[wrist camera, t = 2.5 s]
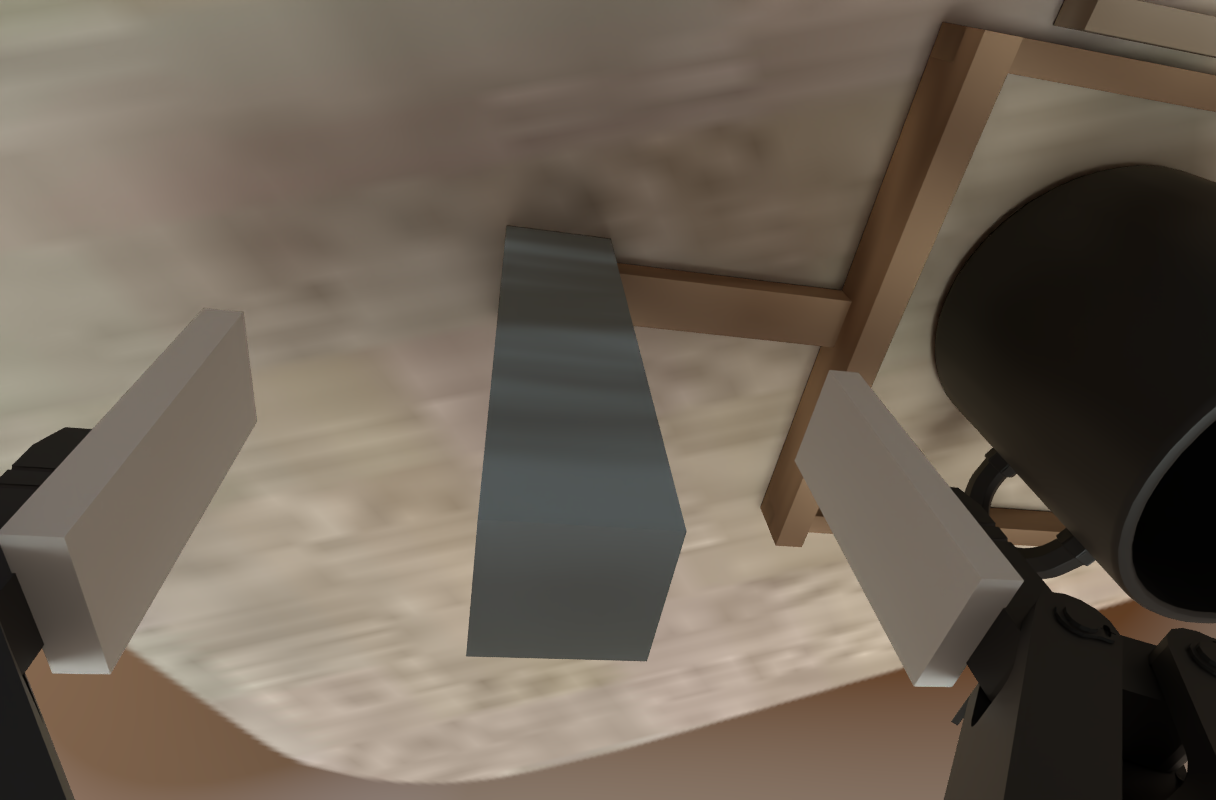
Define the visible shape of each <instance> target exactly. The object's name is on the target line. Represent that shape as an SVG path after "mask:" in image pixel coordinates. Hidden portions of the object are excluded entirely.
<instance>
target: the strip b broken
mask: <svg viewBox="0 0 1216 800" xmlns="http://www.w3.org/2000/svg"><path fill="white" fill-rule="evenodd" d="M1054 25H1055V26H1060V27H1065V28H1070V29H1075V30H1080V31H1085V32H1090V33H1095V34H1100V35H1105V36H1110V37H1115V38H1119V39H1124V40H1129V41H1134V42H1139V43H1144V44H1149V45H1154V46H1159V47H1164V48H1169V49H1174V50H1179V51H1184V52H1189V53H1194V54H1199V55H1204V56H1209V57H1214V58H1216V17H1214V16H1209V15H1205V14H1200V13H1195V12H1190V11H1186V10H1181V9H1176V8H1172V7H1167V6H1162V5H1158V4H1153V3H1148V2H1144V1H1139V0H1065V1H1064V3H1063V6H1062V8H1061V10H1060V12H1059V14H1058V17H1057V19H1056V21H1055V23H1054Z"/></svg>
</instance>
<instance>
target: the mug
mask: <svg viewBox="0 0 1216 800" xmlns="http://www.w3.org/2000/svg"><path fill="white" fill-rule="evenodd" d="M935 357H936V365H937V370H938V374H939V378H940V381H941V384H942V386H943V388H944V391H945V393H946V395H947V396H948V397H949V399H950V400H951V401H952V403H953V404H954V405H955V406H956V407H957V408H958V409H959V411H960V412H961V413H962V414H963V415H964V416H965V417H966V418H967V419H968V420H969V422H970V423H971V424H972V425H973V426H974V427H975V428H976V429H977V430H978V431H979V433H980V434H981V435H982V436H983V437H984V438H985V439H986V440H987V441H988V442H989V444H990V445H991V446H992V447H993V448H992V449H991V450H990V451H989V452H987V453H986V454H985V457H986V459H985V460H984V461H983V462H982V464H981V465H980V466H979V467H978V468H977V470H976V471H975V472H974V474H973V475H972V477H971V478H970V480H969V482H968V485H967V487H966V490H965V493H966V494H967V495H968V496H970V497H971V498H972V499H973V500H975V501H976V502H977V503H979V504H980V505H981V506H982V507H983V509H984V510H985V511H986V512H987V513H988V515H989V516H990V505H991V502H992V499H993V496H994V494H995V492H996V490H997V489H998V487H999V486H1000V485H1001V483H1002V482H1003V481H1004V480H1005V479H1006V478H1007V477H1013V476H1015V475H1016V474H1018V475H1019V476H1020V478H1021V479H1022V480H1023V481H1024V482H1025V483H1026V484H1027V485H1028V486H1029V487H1030V488H1031V490H1032V491H1033V492H1034V493H1035V494H1036V495H1037V496H1038V497H1039V498H1040V499H1041V501H1042V502H1043V503H1044V504H1045V505H1046V506H1047V507H1048V508H1049V509H1050V510H1051V512H1052V513H1053V514H1054V515H1055V516H1056V517H1057V518H1058V519H1059V520H1060V521H1061V522H1062V524H1063V525H1064V526H1065V527H1066V528H1065V529H1064V530H1062V531H1061V532H1060V533H1059V534H1057V535H1056V537H1057V539H1055V540H1053V541H1051V542H1049V543H1047V544H1044V545H1042V546H1038V547H1034V548H1017V547H1016V549H1017V550H1018V551H1019V552H1020V553H1021V555H1022V556H1023V557H1024V558H1025V559H1026V561H1027V562H1028V563H1029V564H1030V566H1031V567H1032V568H1033V569H1034V570H1035V572H1036V573H1037V574H1038V575H1039V576H1040V578H1041V579H1047V578H1053V577H1057V576H1060V575H1063V574H1065V573H1067V572H1069V571H1071V570H1073V569H1076V568H1078V567H1080V566H1082V565H1086V566H1088V565H1090V564H1091V563H1092V562H1094V561H1095V560H1096V561H1097V562H1098V563H1099V564H1100V565H1101V566H1102V567H1103V569H1104V570H1105V571H1106V572H1107V573H1108V574H1109V575H1110V576H1111V577H1112V578H1113V580H1114V581H1115V582H1116V583H1117V584H1118V585H1119V586H1120V587H1121V588H1122V589H1123V591H1124V592H1125V593H1126V594H1127V595H1128V596H1130V597H1131V598H1132V599H1133V600H1135V601H1136V602H1137V603H1138V604H1140V605H1141V606H1142V607H1144V608H1146V609H1148V610H1150V611H1153V612H1155V613H1157V614H1159V615H1162V616H1165V617H1168V618H1171V619H1176V620H1180V621H1185V622H1195V623H1216V182H1213V181H1210V180H1207V179H1204V178H1201V177H1198V176H1196V175H1193V174H1190V173H1187V172H1184V171H1181V170H1176V169H1172V168H1167V167H1160V166H1130V167H1123V168H1116V169H1111V170H1106V171H1101V172H1097V173H1094V174H1090V175H1087V176H1083V177H1080V178H1077V179H1075V180H1072V181H1070V182H1068V183H1065V184H1063V185H1061V186H1059V187H1056V188H1054V189H1052V190H1050V191H1049V192H1047V193H1045V194H1043V195H1042V196H1040V197H1038V198H1037V199H1035V200H1033V201H1031V202H1030V203H1028V204H1027V205H1025V206H1024V207H1023V208H1021V209H1020V210H1019V211H1017V212H1016V213H1015V214H1013V215H1012V216H1011V217H1009V218H1008V219H1007V220H1006V221H1005V222H1003V223H1002V224H1001V225H1000V226H999V227H998V228H997V229H996V230H995V231H994V232H993V233H992V234H991V235H990V236H988V237H987V238H986V240H985V241H984V242H983V243H982V244H981V245H980V247H979V248H978V249H977V250H976V251H975V252H974V254H973V255H972V256H971V257H970V259H969V260H968V261H967V263H966V264H965V266H964V267H963V269H962V270H961V272H960V273H959V275H958V276H957V278H956V279H955V281H954V283H953V285H952V287H951V289H950V291H949V293H948V295H947V297H946V300H945V302H944V305H943V308H942V311H941V314H940V317H939V320H938V326H937V332H936V340H935Z"/></svg>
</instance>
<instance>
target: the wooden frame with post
mask: <svg viewBox="0 0 1216 800" xmlns="http://www.w3.org/2000/svg"><path fill="white" fill-rule="evenodd" d="M1008 73H1010V74H1016V75H1021V76H1026V77H1032V78H1037V79H1042V80H1048V81H1053V82H1058V83H1064V84H1069V85H1075V86H1080V87H1085V88H1091V89H1096V90H1101V91H1107V92H1112V93H1117V94H1123V95H1128V96H1134V97H1139V98H1144V99H1150V100H1155V101H1160V102H1166V103H1171V104H1176V105H1182V106H1187V107H1193V108H1198V109H1203V110H1209V111H1214V112H1216V75H1211V74H1205V73H1200V72H1195V71H1190V70H1185V69H1180V68H1175V67H1170V66H1165V65H1160V64H1155V63H1150V62H1144V61H1139V60H1134V59H1129V58H1124V57H1119V56H1114V55H1109V54H1104V53H1099V52H1094V51H1089V50H1083V49H1078V48H1073V47H1068V46H1063V45H1058V44H1053V43H1048V42H1043V41H1038V40H1033V39H1028V38H1023V37H1018V36H1013V35H1008V34H1003V33H998V32H993V31H987V30H982V29H977V28H972V27H967V26H961V25H956V24H951V23H945V22H943V23H942V25H941V28H940V31H939V33H938V36H937V39H936V41H935V44H934V47H933V49H932V52H931V55H930V57H929V60H928V63H927V65H926V68H925V71H924V73H923V76H922V79H921V81H920V84H919V87H918V89H917V92H916V95H915V97H914V100H913V103H912V105H911V108H910V111H909V113H908V116H907V119H906V121H905V124H904V127H903V129H902V132H901V135H900V137H899V140H898V143H897V145H896V148H895V151H894V153H893V156H892V159H891V161H890V164H889V167H888V169H887V172H886V175H885V177H884V180H883V183H882V185H881V188H880V191H879V193H878V196H877V199H876V201H875V204H874V207H873V209H872V212H871V215H870V217H869V220H868V223H867V225H866V228H865V231H864V233H863V236H862V239H861V241H860V244H859V247H858V249H857V252H856V255H855V257H854V260H853V263H852V265H851V268H850V271H849V273H848V276H847V279H846V281H845V284H844V287H843V289H842V291H841V290H833V289H825V288H817V287H809V286H801V285H793V284H784V283H776V282H768V281H760V280H752V279H744V278H736V277H728V276H719V275H711V274H703V273H695V272H687V271H679V270H671V269H663V268H654V267H646V266H638V265H630V264H622V263H617V261H616V258H615V254H614V250H613V246H612V242H611V239H607V238H599V237H591V236H583V235H576V234H568V233H560V232H552V231H544V230H537V229H529V228H521V227H513V226H507V227H506V237H505V248H504V258H503V268H502V278H501V288H500V298H499V309H498V319H497V329H496V339H495V349H494V360H493V370H492V380H491V390H490V400H489V410H488V421H487V431H486V441H485V451H484V461H483V471H482V482H481V492H480V502H479V512H478V523H477V535H476V546H475V558H474V570H473V582H472V594H471V606H470V617H469V629H468V641H467V653H466V656H474V657H511V658H548V659H585V660H622V661H647V659H648V656H649V652H650V649H651V646H652V642H653V639H654V636H655V633H656V629H657V626H658V623H659V620H660V616H661V613H662V610H663V607H664V603H665V600H666V597H667V593H668V590H669V587H670V584H671V580H672V577H673V574H674V571H675V567H676V564H677V561H678V558H679V554H680V551H681V548H682V544H683V541H684V538H685V535H686V528H685V524H684V520H683V516H682V512H681V508H680V505H679V501H678V497H677V493H676V489H675V485H674V481H673V478H672V474H671V470H670V466H669V462H668V458H667V454H666V451H665V447H664V443H663V439H662V435H661V431H660V427H659V424H658V420H657V416H656V412H655V408H654V404H653V400H652V397H651V393H650V389H649V385H648V381H647V377H646V373H645V370H644V366H643V362H642V358H641V354H640V350H639V346H638V343H637V339H636V335H635V331H634V327H633V326H640V327H650V328H659V329H668V330H677V331H687V332H696V333H705V334H714V335H724V336H733V337H742V338H751V339H760V340H770V341H779V342H788V343H797V344H807V345H816V346H821V348H820V351H819V353H818V356H817V359H816V361H815V364H814V367H813V369H812V372H811V375H810V377H809V380H808V383H807V385H806V388H805V391H804V393H803V396H802V399H801V401H800V404H799V407H798V409H797V412H796V415H795V417H794V420H793V423H792V425H791V428H790V431H789V433H788V436H787V439H786V441H785V444H784V447H783V449H782V452H781V455H780V457H779V460H778V463H777V465H776V468H775V471H774V473H773V476H772V479H771V481H770V484H769V486H768V489H767V492H766V494H765V497H764V500H763V502H762V505H761V510H762V513H763V515H764V518H765V520H766V523H767V525H768V528H769V530H770V533H771V535H772V538H773V540H774V543H775V545H776V546H793V547H802V545H803V543H804V541H805V538H806V536H807V534H808V532H813V533H830V534H833V533H832V531H831V529H830V527H829V525H828V523H827V521H826V519H825V517H824V516H823V514H822V512H821V510H820V508H819V506H818V504H817V502H816V500H815V499H814V497H813V495H812V493H811V491H810V489H809V487H808V485H807V483H806V482H805V480H804V478H803V476H802V474H801V472H800V470H799V468H798V466H797V465H796V463H795V458H796V456H797V453H798V451H799V448H800V445H801V443H802V440H803V437H804V435H805V432H806V430H807V427H808V424H809V422H810V419H811V417H812V414H813V411H814V409H815V406H816V403H817V401H818V398H819V396H820V393H821V390H822V388H823V385H824V382H825V380H826V377H827V375H828V372H829V370H836V371H846V372H856V373H859V374H860V375H861V376H862V378H863V379H864V380H865V381H866V383H867V384H868V385H869V386H870V388H871V387H872V384H873V382H874V380H875V378H876V375H877V373H878V371H879V368H880V366H881V364H882V361H883V359H884V357H885V355H886V352H887V350H888V348H889V345H890V343H891V341H892V338H893V336H894V334H895V332H896V329H897V327H898V325H899V322H900V320H901V318H902V315H903V313H904V311H905V309H906V306H907V304H908V302H909V299H910V297H911V295H912V292H913V290H914V288H915V286H916V283H917V281H918V279H919V276H920V274H921V272H922V270H923V267H924V265H925V263H926V260H927V258H928V256H929V253H930V251H931V249H932V247H933V244H934V242H935V240H936V237H937V235H938V233H939V230H940V228H941V226H942V224H943V221H944V219H945V217H946V214H947V212H948V210H949V207H950V205H951V203H952V201H953V198H954V196H955V194H956V191H957V189H958V187H959V184H960V182H961V180H962V178H963V175H964V173H965V171H966V168H967V166H968V164H969V161H970V159H971V157H972V155H973V152H974V150H975V148H976V145H977V143H978V141H979V139H980V136H981V134H982V132H983V129H984V127H985V125H986V122H987V120H988V118H989V116H990V113H991V111H992V109H993V106H994V104H995V102H996V99H997V97H998V95H999V93H1000V90H1001V88H1002V86H1003V83H1004V81H1005V79H1006V76H1007V74H1008ZM990 517H991V518H992V519H993V521H994V522H995V523H996V524H995V526H996V527H999V528H1000V529H1001V530H1002V532H1003V533H1004V534H1005V535H1006V536H1007V538H1008V542H1012V544H1013V545H1027V546H1042V545H1044V544H1047V543H1049V542H1051V541H1053V540H1055V539H1057V537H1056V535H1057V534H1059V533H1060V532H1061V531H1062V530H1064V529H1065V528H1066V527H1065V526H1064V525H1063V524H1062V522H1061V521H1060V520H1059V519H1058V518H1057V517H1056V516H1055V515H1054V514H1053V513H1052V512H1045V511H1031V510H1017V509H1003V508H990Z"/></svg>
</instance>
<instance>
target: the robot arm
mask: <svg viewBox="0 0 1216 800" xmlns="http://www.w3.org/2000/svg"><path fill="white" fill-rule="evenodd" d="M256 422H257V416H256V408H255V400H254V392H253V384H252V376H251V368H250V360H249V352H248V344H247V336H246V328H245V320H244V312H238V311H228V310H218V309H207V308H203V309H202V310H201V312H200V313H199V314H198V315H197V316H196V317H195V318H194V319H193V320H192V321H191V322H190V323H189V325H188V326H187V327H186V328H185V329H184V330H183V331H182V332H181V333H180V334H179V335H178V337H177V338H176V339H175V340H174V341H173V342H172V343H171V344H170V345H169V346H168V347H167V349H166V350H165V351H164V352H163V353H162V354H161V355H160V356H159V357H158V358H157V359H156V361H155V362H154V363H153V364H152V365H151V366H150V367H149V368H148V369H147V370H146V371H145V373H144V374H143V375H142V376H141V377H140V378H139V379H138V380H137V381H136V382H135V383H134V384H133V386H132V387H131V388H130V389H129V390H128V391H127V392H126V393H125V394H124V395H123V396H122V398H121V399H120V400H119V401H118V402H117V403H116V404H115V405H114V406H113V407H112V408H111V410H110V411H109V412H108V413H107V414H106V415H105V416H104V417H103V418H102V419H101V420H100V422H99V423H98V424H97V425H96V426H95V427H94V428H93V429H82V428H68V427H65V428H63V429H61V430H59V431H57V432H56V433H54V434H52V435H50V436H48V437H46V438H44V439H43V440H41V441H39V442H37V443H35V444H33V445H32V446H31V447H30V448H29V449H28V450H27V451H26V452H25V453H24V454H23V455H22V456H21V457H20V458H19V459H18V460H17V461H16V462H15V463H14V464H13V465H12V469H11V470H7V471H6V472H5V473H4V474H3V475H2V476H1V477H0V800H75V799H74V796H73V794H72V791H71V789H70V786H69V783H68V781H67V778H66V776H65V773H64V771H63V768H62V765H61V763H60V760H59V758H58V755H57V753H56V750H55V747H54V745H53V742H52V740H51V737H50V735H49V732H48V729H47V727H46V724H45V722H44V719H43V717H42V714H41V712H40V709H39V706H38V704H37V701H36V699H35V696H34V694H33V691H32V688H31V686H30V683H29V681H28V679H27V677H26V674H25V671H26V670H27V669H28V667H29V666H30V664H31V663H32V661H33V660H34V659H35V657H36V656H37V654H38V653H39V651H40V650H41V649H43V651H44V653H45V656H46V658H47V661H48V663H49V665H50V668H51V670H52V673H69V674H70V673H71V674H111V672H112V671H113V669H114V667H115V665H116V663H117V662H118V660H119V658H120V657H121V655H122V653H123V651H124V650H125V648H126V646H127V645H128V643H129V641H130V640H131V638H132V636H133V634H134V633H135V631H136V629H137V627H138V626H139V624H140V622H141V621H142V619H143V617H144V615H145V614H146V612H147V610H148V608H149V607H150V605H151V603H152V602H153V600H154V598H155V596H156V595H157V593H158V591H159V590H160V588H161V586H162V584H163V583H164V581H165V579H166V577H167V576H168V574H169V572H170V571H171V569H172V567H173V565H174V564H175V562H176V560H177V558H178V557H179V555H180V553H181V552H182V550H183V548H184V546H185V545H186V543H187V541H188V540H189V538H190V536H191V534H192V533H193V531H194V529H195V527H196V526H197V524H198V522H199V521H200V519H201V517H202V515H203V514H204V512H205V510H206V508H207V507H208V505H209V503H210V502H211V500H212V498H213V496H214V495H215V493H216V491H217V490H218V488H219V486H220V484H221V483H222V481H223V479H224V477H225V476H226V474H227V472H228V471H229V469H230V467H231V465H232V464H233V462H234V460H235V458H236V457H237V455H238V453H239V452H240V450H241V448H242V446H243V445H244V443H245V441H246V440H247V438H248V436H249V434H250V433H251V431H252V429H253V427H254V426H255V424H256ZM795 463H796V465H797V466H798V468H799V470H800V472H801V474H802V476H803V478H804V480H805V482H806V483H807V485H808V487H809V489H810V491H811V493H812V495H813V497H814V499H815V500H816V502H817V504H818V506H819V508H820V510H821V512H822V514H823V516H824V517H825V519H826V521H827V523H828V525H829V527H830V529H831V531H832V533H833V534H834V536H835V538H836V540H837V542H838V544H839V546H840V548H841V550H842V551H843V553H844V555H845V557H846V559H847V561H848V563H849V565H850V567H851V568H852V570H853V572H854V574H855V576H856V578H857V580H858V582H859V583H860V585H861V587H862V589H863V591H864V593H865V595H866V597H867V599H868V600H869V602H870V604H871V606H872V608H873V610H874V612H875V614H876V616H877V617H878V619H879V621H880V623H881V625H882V627H883V629H884V631H885V633H886V634H887V636H888V638H889V640H890V642H891V644H892V646H893V648H894V650H895V651H896V653H897V655H898V657H899V659H900V661H901V663H902V665H903V667H904V668H905V670H906V672H907V674H908V676H909V678H910V680H911V682H912V683H913V685H914V686H923V687H926V686H928V687H952V686H953V685H954V683H955V682H956V680H957V679H958V678H959V676H960V675H961V673H962V672H963V670H964V669H965V667H966V666H967V665H968V667H969V668H970V670H971V671H972V673H973V675H974V676H975V678H976V680H977V681H978V684H977V686H976V687H975V689H974V690H973V691H972V693H971V694H970V696H969V697H968V698H967V700H966V701H965V703H964V704H963V705H962V707H961V708H960V710H959V711H958V713H957V714H956V715H955V717H954V718H953V720H952V721H951V722H953V723H954V724H956V725H958V724H959V723H960V722H961V720H962V719H963V718H964V720H963V724H962V728H961V732H960V736H959V741H958V745H957V748H956V752H955V756H954V761H953V765H952V769H951V773H950V777H949V781H948V785H947V789H946V793H945V797H944V800H1216V639H1214V638H1211V637H1209V636H1207V635H1204V634H1202V633H1200V632H1197V631H1193V630H1189V629H1184V628H1178V629H1171V631H1170V632H1169V633H1168V634H1167V635H1166V636H1165V637H1164V638H1163V640H1162V641H1161V642H1160V643H1159V644H1158V645H1157V646H1156V645H1153V644H1149V643H1145V642H1142V641H1139V640H1135V639H1132V638H1128V637H1125V636H1122V635H1120V634H1119V633H1118V631H1117V630H1116V629H1115V627H1114V626H1113V625H1112V623H1111V622H1110V621H1109V620H1108V619H1107V618H1106V617H1105V616H1103V615H1102V614H1101V613H1100V612H1099V611H1098V610H1096V609H1095V608H1093V607H1091V606H1090V605H1088V604H1086V603H1085V602H1083V601H1081V600H1079V599H1077V598H1074V597H1071V596H1069V595H1066V594H1062V593H1054V592H1052V591H1051V590H1050V589H1049V587H1048V586H1047V585H1046V584H1045V582H1044V581H1043V580H1042V579H1041V578H1040V576H1039V575H1038V574H1037V573H1036V572H1035V570H1034V569H1033V568H1032V567H1031V566H1030V564H1029V563H1028V562H1027V561H1026V559H1025V558H1024V557H1023V556H1022V555H1021V553H1020V552H1019V551H1018V550H1017V549H1016V547H1015V546H1014V545H1013V544H1012V542H1008V538H1007V536H1006V535H1005V534H1004V533H1003V532H1002V530H1001V529H1000V528H999V527H996V526H995V524H996V523H995V522H994V521H993V519H992V518H991V517H990V516H989V515H988V513H987V512H986V511H985V510H984V509H983V507H982V506H981V505H980V504H979V503H977V502H976V501H975V500H973V499H972V498H971V497H970V496H968V495H967V494H966V493H964V492H963V491H962V490H960V489H959V488H955V487H949V486H948V484H947V483H946V482H945V481H944V479H943V478H942V477H941V476H940V474H939V473H938V472H937V471H936V469H935V468H934V467H933V466H932V464H931V463H930V462H929V461H928V459H927V458H926V457H925V456H924V454H923V453H922V452H921V451H920V449H919V448H918V447H917V445H916V444H915V443H914V442H913V440H912V439H911V438H910V437H909V435H908V434H907V433H906V432H905V430H904V429H903V428H902V427H901V425H900V424H899V423H898V422H897V420H896V419H895V418H894V417H893V415H892V414H891V413H890V412H889V410H888V409H887V408H886V407H885V405H884V404H883V403H882V401H881V400H880V399H879V398H878V396H877V395H876V394H875V393H874V391H873V390H872V389H871V388H870V386H869V385H868V384H867V383H866V381H865V380H864V379H863V378H862V376H861V375H860V374H859V373H856V372H846V371H836V370H829V372H828V375H827V377H826V380H825V382H824V385H823V388H822V390H821V393H820V396H819V398H818V401H817V403H816V406H815V409H814V411H813V414H812V417H811V419H810V422H809V424H808V427H807V430H806V432H805V435H804V437H803V440H802V443H801V445H800V448H799V451H798V453H797V456H796V458H795ZM1187 761H1188V770H1187V772H1186V769H1185V767H1184V763H1186V762H1187Z"/></svg>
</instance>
